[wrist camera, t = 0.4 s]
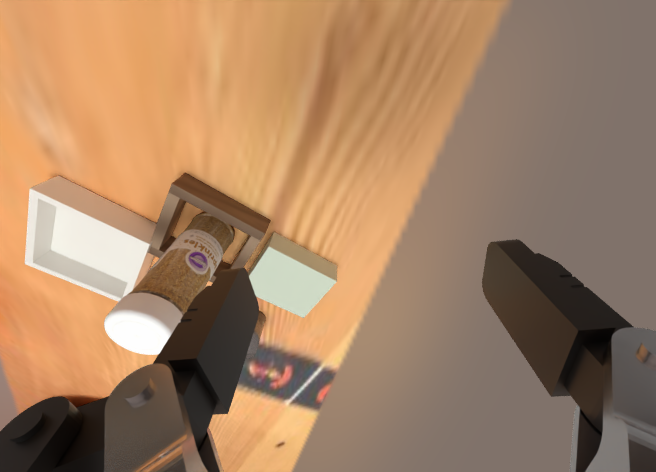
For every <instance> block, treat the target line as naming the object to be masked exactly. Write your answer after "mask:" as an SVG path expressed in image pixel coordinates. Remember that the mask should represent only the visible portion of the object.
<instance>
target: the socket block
mask: <svg viewBox="0 0 656 472" xmlns="http://www.w3.org/2000/svg"><path fill="white" fill-rule="evenodd" d="M185 202H188V203H190V204H192V205H194V206H195V207H197V208H199V209H201V210H203V211H205V212H207V213H209V214H211V215H213V216H214V217H216V218H218V219H220V220H222V221H224V222H226V223H228V224H230V225H231V226H233V227H235V228H237V229H239V230H241V231H243V232H245V233H247V234H248V235H250V236H249V237H248V239H247V240H246V242H245V244H244V245H243V247H242V249H241V250H240V252H239V253H238V255H237V257H236V258H235V260H234V262H233V263H232V265H229V264H227V263H225V262H223V261H220V263H219V265H218V267H217V268H216V270H215V272H214V274H213V275H212V277H211V279H210V280H209V281H211V282H214V280H215V279H216V277H217V275H218V274H219V272H220V271H221V270H227V269H236V268H243V267H244V265H245V264H246V262H247V261H248V259H249V258H250V256H251V255H252V253H253V251H254V250H255V248H256V247H257V245H258V244H259V242H260V241H261V239H262V238H263V236H264V235H265V233H266V230H267V228H268V225H269V223H270V221H271V220H269V219H267V218H265V217H263V216H262V215H260V214H258V213H256V212H254V211H253V210H251V209H249V208H247V207H245V206H244V205H242V204H240V203H238V202H236V201H235V200H233V199H231V198H229V197H227V196H226V195H224V194H222V193H220V192H219V191H217V190H215V189H213V188H211V187H210V186H208V185H206V184H204V183H202V182H201V181H199V180H197V179H195V178H193V177H192V176H190V175H188V174H186V173H185V174H183V175H182V176H181V177H180V178H178V179H177V180H176V181H175V182H173V183H172V185H171V188H170V190H169V193H168V195H167V198H166V201H165V203H164V206H163V209H162V211H161V214H160V217H159V219H158V222H157V225H156V227H155V230H154V233H153V235H152V238H151V241H153V242H152V244H151V247H150V249H149V252H148V253H150V254H152V255H154V256H156V257H159V258H160V257H161V256H162V255H163V254H164V253H165V251H166V250H167V249H168V248H169V247H170V246H171V245H172V243H173V242H174V241H175V240H176V238H174V237H172V236H171V235H172V233H173V231H174V228H175V226H176V224H177V221H178V219H179V216H180V214H181V212H182V209H183V207H184V205H185Z"/></svg>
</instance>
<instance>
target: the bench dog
mask: <svg viewBox="0 0 656 472" xmlns="http://www.w3.org/2000/svg"><path fill="white" fill-rule="evenodd" d="M264 322H265V315H264V314H263V313H262V312H260V311H259V315H258V320H257V323H256V327H255V330H254V333H253V336H252V339H251V342H250V346H249V349H248V352H247V355H246V358H245V359H247V358H252V357H254V356H255V354H256V351H257V347H258V344H259V340H260V337H261V333H262V330H263V326H264Z"/></svg>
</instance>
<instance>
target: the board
mask: <svg viewBox="0 0 656 472" xmlns="http://www.w3.org/2000/svg"><path fill="white" fill-rule="evenodd" d="M248 276H249V278H250V281H251V284H252V287H253V290H254V293H255V295H256V297H259V298H261V299H263V300H265V301H267V302H270V303H272V304H274V305H276V306H278V307H281V308H283V309H285V310H287V311H289V312H292V313H294V314H296V315H298V316H300V317H303V318H304V317H305V316H306V315H307V314H308V313H309V311H310V310H311V309H312V308H313V307H314V306H315V305H316V304H317V303H318V302H319V301H320V299H321V298H322V297H323V296H324V295H325V294H326V293H327V292H328V291H329V290H330V289H331V287H332V286H333V285H334V284H335V283H336V282H337V265H335V264H334V263H332V262H330V261H328V260H326V259H324V258H322V257H320V256H319V255H317V254H315V253H313V252H311V251H309V250H307V249H305V248H304V247H302V246H300V245H298V244H296V243H294V242H292V241H290V240H289V239H287V238H285V237H283V236H281V235H279V234H277V233H275V232H274V233H273V234H272V236H271V237H270V239H269V241H268V242H267V244H266V245H265V247H264V248H263V250H262V251H261V253H260V254H259V256H258V257H257V259H256V261H255V262H254V264H253V265H252V267H251V268H250V270H249V271H248Z"/></svg>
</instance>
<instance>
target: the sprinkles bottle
mask: <svg viewBox="0 0 656 472" xmlns="http://www.w3.org/2000/svg"><path fill="white" fill-rule="evenodd" d="M233 238H234V231H233V228H232V227H231V225H230V224H228V223H226V222H224V221H222V220H220V219H218V218H216V217H214V216H213V215H211V214H209V213H202V214H199V215H197V216H196V217H194V218H193V220H192V222H191V224H190V225H189V226H188V227H187V228H186V229H185V231H184V232H183V233H181V234H180V235H179V236H178V238H177V239H176V240H175V241H174V242H173V243H172V245H171V246H170V247H169V248H168V249H167V250H166V251H165V253H164V254H163V255H162V256H161V257H160V258H159V259H158V261H157V262H156V263H155V264H154V265H153V266H152V268H151V269H150V270H149V271H148V273H147V274H146V276H145V277H144V278H143V279H142V280H141V281H140V282H139V284H138V285H137V286H136V287H135V288H134V289H133V291H132V292H130V293H128V294H127V295H126V296H124V297H123V298H122V299H121V300H120V301H119V302H118V303H117V305H116V306H115V307H114V308H113V309H112V310H111V312H110V313H109V314H108V315H107V317H106V318H105V321H104V327H105V331H106V332H107V334H108V336H109V337H110V338H111V339H112V340H113V341H114V342H116V343H117V344H118V345H120V346H122V347H123V348H125V349H128V350H130V351H133V352H136V353H140V354H147V355H156V354H159V353H160V352H161V350H162V348H163V347H164V345H165V344H166V342H167V341H168V339H169V337H170V336H171V334H172V333H173V331H174V329H175V328H176V326H177V325H178V323H180V322H181V318H182V317H183V315H184V314H185V312H187V309H188V307H189V306H190V304H191V302H192V301H193V299H194V298H195V297H196V296H197V295H198V294H199V293H200V292H201V291H202V290H203V289H204V288H205V286H206V284H207V282H208V281H209V280H210V279H211V277H212V275H213V274H214V272H215V270H216V268H217V267H218V265H219V263H220V261H221V259H222V257H223V254H224V253H225V251H226V249H227V248H228V246H229V245H230V244H231V243H232V241H233Z"/></svg>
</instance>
